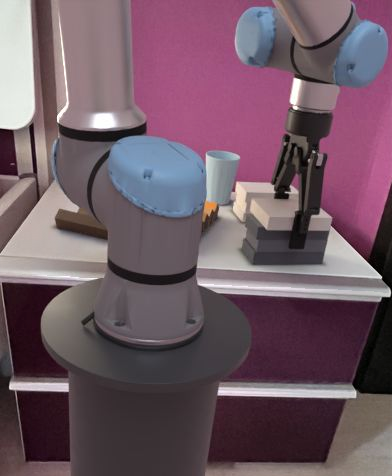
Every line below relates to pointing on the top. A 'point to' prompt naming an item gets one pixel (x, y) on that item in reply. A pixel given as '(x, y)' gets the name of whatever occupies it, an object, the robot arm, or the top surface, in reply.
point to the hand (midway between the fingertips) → (285, 237)
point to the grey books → (281, 245)
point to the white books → (254, 196)
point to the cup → (220, 175)
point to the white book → (285, 214)
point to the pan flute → (92, 227)
